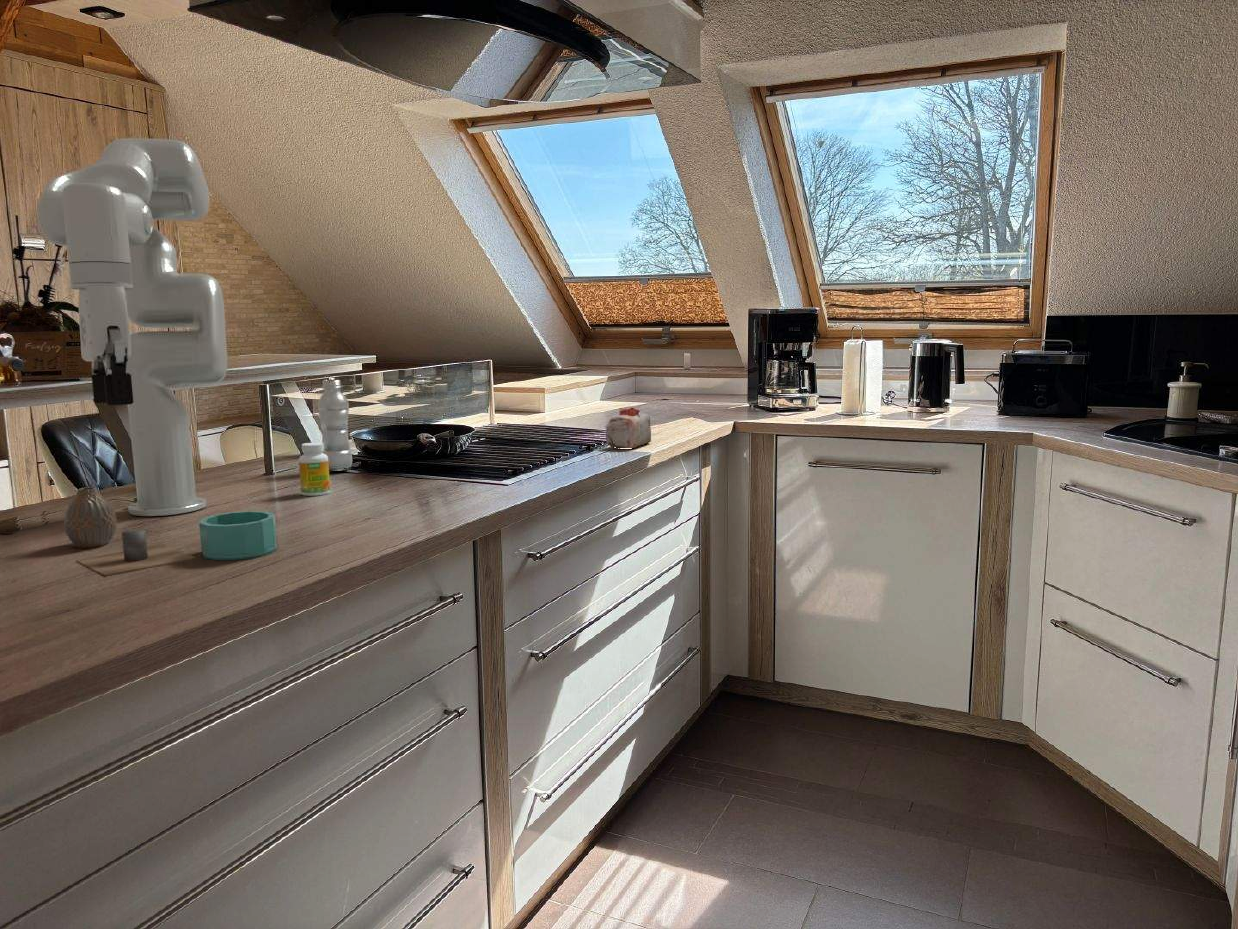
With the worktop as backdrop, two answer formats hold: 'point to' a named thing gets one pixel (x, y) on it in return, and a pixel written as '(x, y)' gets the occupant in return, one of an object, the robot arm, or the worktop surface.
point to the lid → (135, 556)
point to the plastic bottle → (335, 425)
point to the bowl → (238, 535)
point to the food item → (629, 429)
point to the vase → (90, 519)
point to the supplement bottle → (314, 470)
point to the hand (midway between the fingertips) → (113, 403)
